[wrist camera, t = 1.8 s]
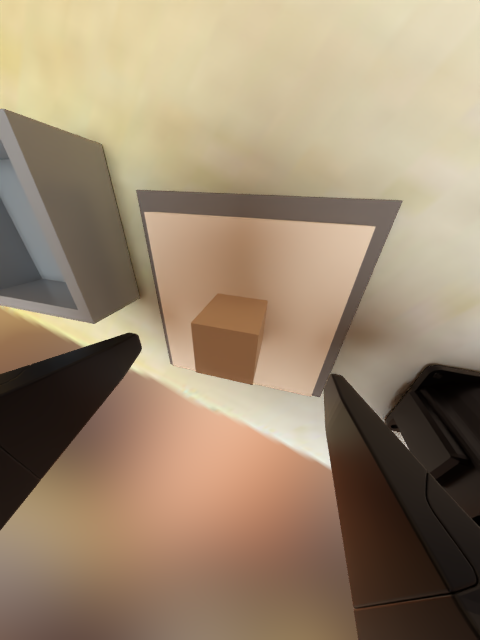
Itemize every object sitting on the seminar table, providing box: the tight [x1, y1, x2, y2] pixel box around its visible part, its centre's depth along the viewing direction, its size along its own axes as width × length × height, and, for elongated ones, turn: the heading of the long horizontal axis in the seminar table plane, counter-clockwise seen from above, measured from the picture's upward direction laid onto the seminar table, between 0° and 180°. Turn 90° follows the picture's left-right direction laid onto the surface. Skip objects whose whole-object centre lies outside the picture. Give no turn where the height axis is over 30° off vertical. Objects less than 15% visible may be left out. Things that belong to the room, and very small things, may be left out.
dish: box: [0, 109, 140, 324], centre depth 11 cm, size 9×9×4 cm
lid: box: [144, 212, 375, 397], centre depth 10 cm, size 11×11×4 cm
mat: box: [136, 190, 402, 397], centre depth 13 cm, size 13×13×1 cm
